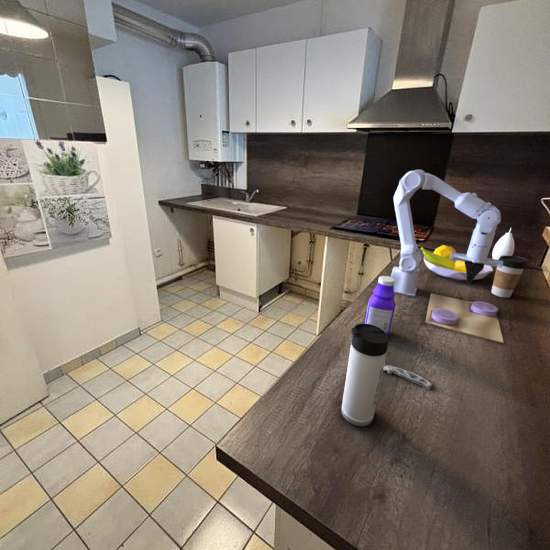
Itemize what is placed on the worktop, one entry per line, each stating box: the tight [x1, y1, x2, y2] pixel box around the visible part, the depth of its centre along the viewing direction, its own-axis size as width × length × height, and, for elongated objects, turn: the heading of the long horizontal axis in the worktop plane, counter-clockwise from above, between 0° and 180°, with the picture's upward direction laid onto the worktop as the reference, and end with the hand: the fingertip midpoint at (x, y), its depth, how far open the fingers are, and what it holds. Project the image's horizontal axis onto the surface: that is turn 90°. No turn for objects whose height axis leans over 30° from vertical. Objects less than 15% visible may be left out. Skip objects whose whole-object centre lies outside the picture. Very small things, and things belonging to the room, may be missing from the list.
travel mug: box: [340, 323, 390, 427], centre depth 55 cm, size 6×7×20 cm
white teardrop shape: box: [491, 227, 515, 260], centre depth 138 cm, size 8×8×18 cm
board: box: [424, 292, 505, 344], centre depth 96 cm, size 20×24×1 cm
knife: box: [383, 362, 433, 390], centre depth 70 cm, size 2×18×3 cm
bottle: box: [364, 275, 397, 336], centre depth 82 cm, size 7×6×17 cm
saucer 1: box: [431, 308, 458, 325], centre depth 92 cm, size 7×7×2 cm
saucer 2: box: [471, 300, 499, 316], centre depth 97 cm, size 7×7×2 cm
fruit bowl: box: [419, 244, 494, 281], centre depth 127 cm, size 28×27×11 cm
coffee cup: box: [490, 255, 528, 299], centre depth 108 cm, size 8×8×15 cm
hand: (468, 282), depth 99 cm, fingers closed
